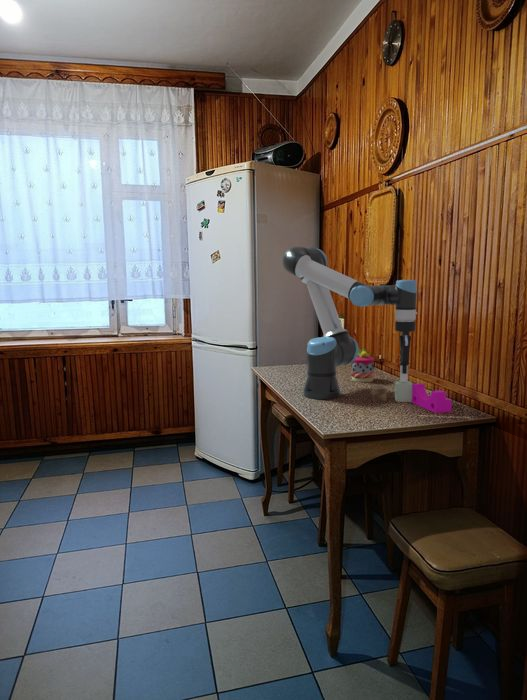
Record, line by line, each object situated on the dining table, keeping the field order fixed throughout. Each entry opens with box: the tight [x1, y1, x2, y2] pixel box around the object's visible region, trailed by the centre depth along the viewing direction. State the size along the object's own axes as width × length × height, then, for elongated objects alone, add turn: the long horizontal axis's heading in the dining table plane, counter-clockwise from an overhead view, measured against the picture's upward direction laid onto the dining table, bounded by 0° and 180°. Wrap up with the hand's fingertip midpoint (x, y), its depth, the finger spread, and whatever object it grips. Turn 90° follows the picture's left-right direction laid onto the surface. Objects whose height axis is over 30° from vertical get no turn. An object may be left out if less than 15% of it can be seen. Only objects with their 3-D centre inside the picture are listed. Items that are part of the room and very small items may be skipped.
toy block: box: [411, 382, 453, 414], centre depth 171 cm, size 15×6×8 cm, turn 14°
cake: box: [350, 348, 375, 383], centre depth 217 cm, size 10×11×15 cm
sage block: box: [394, 380, 414, 403], centre depth 182 cm, size 6×6×7 cm
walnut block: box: [370, 385, 388, 402], centre depth 183 cm, size 5×5×5 cm
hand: (403, 381), depth 181 cm, fingers closed
